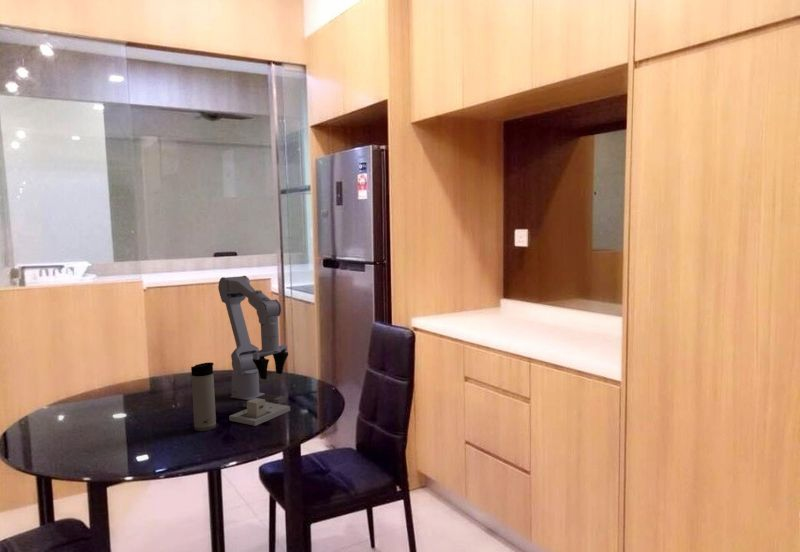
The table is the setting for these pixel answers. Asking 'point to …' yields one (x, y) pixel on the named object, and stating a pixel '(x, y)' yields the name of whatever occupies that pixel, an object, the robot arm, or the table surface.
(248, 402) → the block
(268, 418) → the outlet plate
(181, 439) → the table surface
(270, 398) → the phone
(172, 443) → the table surface
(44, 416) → the table surface
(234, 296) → the robot arm
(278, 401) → the cable plug
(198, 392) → the travel mug
